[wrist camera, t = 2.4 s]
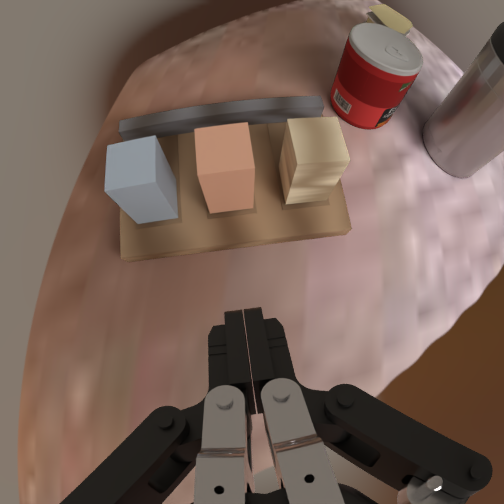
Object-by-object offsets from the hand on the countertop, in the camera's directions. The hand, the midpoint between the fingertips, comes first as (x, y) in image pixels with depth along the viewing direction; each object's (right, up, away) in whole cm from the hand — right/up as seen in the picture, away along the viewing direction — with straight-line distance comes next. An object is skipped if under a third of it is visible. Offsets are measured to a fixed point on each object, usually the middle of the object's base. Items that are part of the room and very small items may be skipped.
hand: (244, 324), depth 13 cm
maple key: (+5, +10, +17) cm, 20 cm away
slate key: (-9, +8, +17) cm, 20 cm away
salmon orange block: (-2, +9, +17) cm, 19 cm away
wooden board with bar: (-2, +11, +20) cm, 23 cm away
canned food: (+14, +21, +22) cm, 34 cm away
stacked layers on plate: (+21, +36, +26) cm, 49 cm away
